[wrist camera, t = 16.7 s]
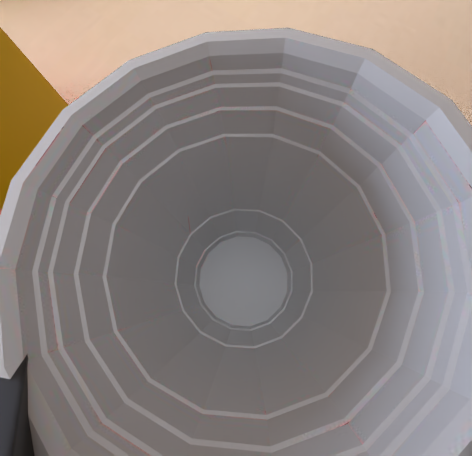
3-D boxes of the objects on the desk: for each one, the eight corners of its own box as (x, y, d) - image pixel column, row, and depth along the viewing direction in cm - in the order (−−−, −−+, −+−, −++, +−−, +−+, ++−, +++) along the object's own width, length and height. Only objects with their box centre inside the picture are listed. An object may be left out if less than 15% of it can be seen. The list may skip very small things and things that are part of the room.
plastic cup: (182, 180, 18) (80, -26, 7) (341, 216, 18) (535, 50, 6) (126, 347, 16) (-196, 471, 4) (311, 401, 15) (559, 756, 3)
